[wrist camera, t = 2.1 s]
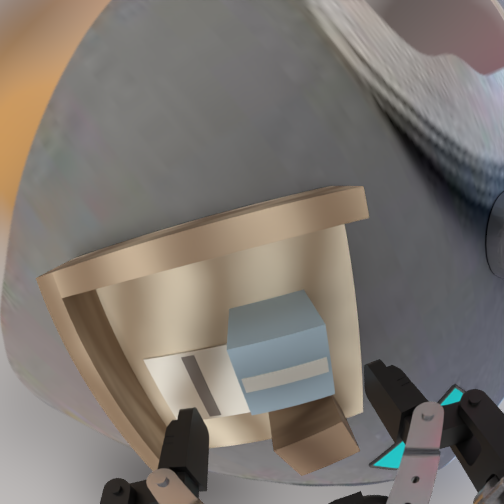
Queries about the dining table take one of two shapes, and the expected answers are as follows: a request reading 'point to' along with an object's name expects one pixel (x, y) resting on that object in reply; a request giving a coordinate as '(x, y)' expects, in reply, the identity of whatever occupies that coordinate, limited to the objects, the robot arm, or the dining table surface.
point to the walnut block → (312, 435)
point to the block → (280, 352)
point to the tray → (205, 312)
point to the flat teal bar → (395, 452)
